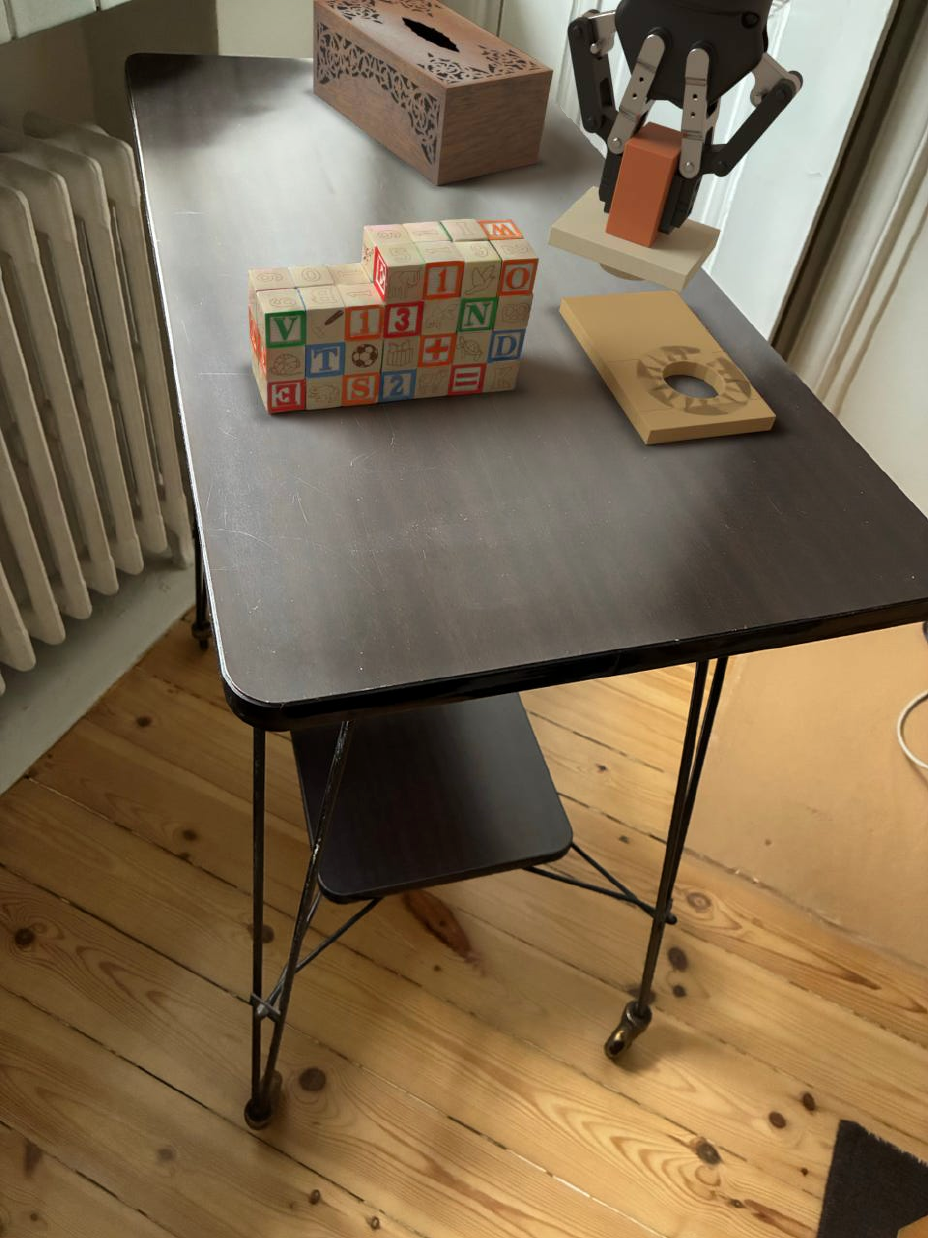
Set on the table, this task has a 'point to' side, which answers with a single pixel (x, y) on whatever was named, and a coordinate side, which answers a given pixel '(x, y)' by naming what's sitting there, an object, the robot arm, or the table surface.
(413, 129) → the tissue box cover
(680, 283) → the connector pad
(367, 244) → the stack of blocks
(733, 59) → the robot arm
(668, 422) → the base pad
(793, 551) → the table surface
